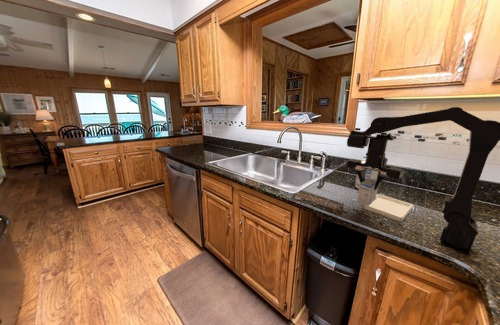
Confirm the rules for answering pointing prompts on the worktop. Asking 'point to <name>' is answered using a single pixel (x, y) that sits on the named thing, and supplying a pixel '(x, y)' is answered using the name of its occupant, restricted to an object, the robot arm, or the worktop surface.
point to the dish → (389, 207)
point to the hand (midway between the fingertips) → (368, 188)
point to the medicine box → (367, 192)
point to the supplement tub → (367, 176)
